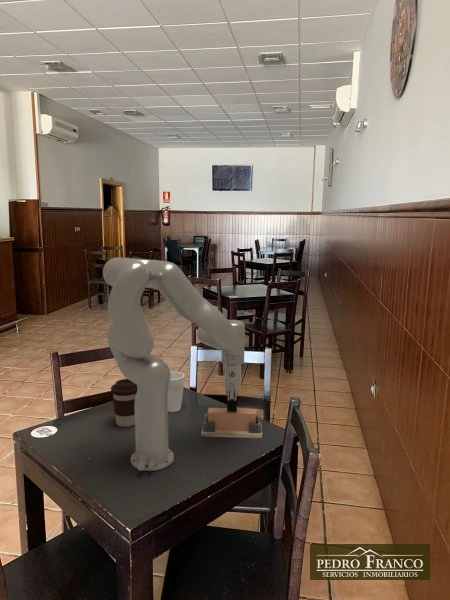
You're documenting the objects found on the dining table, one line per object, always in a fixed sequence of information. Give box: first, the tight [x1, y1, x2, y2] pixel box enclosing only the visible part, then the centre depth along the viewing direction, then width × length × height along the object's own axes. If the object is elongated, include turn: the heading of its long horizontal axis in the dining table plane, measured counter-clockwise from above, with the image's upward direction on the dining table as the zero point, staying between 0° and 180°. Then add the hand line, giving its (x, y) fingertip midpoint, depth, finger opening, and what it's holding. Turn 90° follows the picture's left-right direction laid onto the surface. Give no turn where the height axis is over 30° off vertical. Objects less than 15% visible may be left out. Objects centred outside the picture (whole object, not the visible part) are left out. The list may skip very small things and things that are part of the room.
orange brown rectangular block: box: [207, 407, 257, 431], centre depth 149 cm, size 4×16×6 cm, turn 88°
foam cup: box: [168, 371, 186, 413], centre depth 166 cm, size 10×9×13 cm
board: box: [200, 413, 263, 439], centre depth 149 cm, size 9×20×4 cm, turn 88°
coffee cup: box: [110, 378, 138, 428], centre depth 154 cm, size 10×10×15 cm
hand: (231, 410), depth 148 cm, fingers closed
